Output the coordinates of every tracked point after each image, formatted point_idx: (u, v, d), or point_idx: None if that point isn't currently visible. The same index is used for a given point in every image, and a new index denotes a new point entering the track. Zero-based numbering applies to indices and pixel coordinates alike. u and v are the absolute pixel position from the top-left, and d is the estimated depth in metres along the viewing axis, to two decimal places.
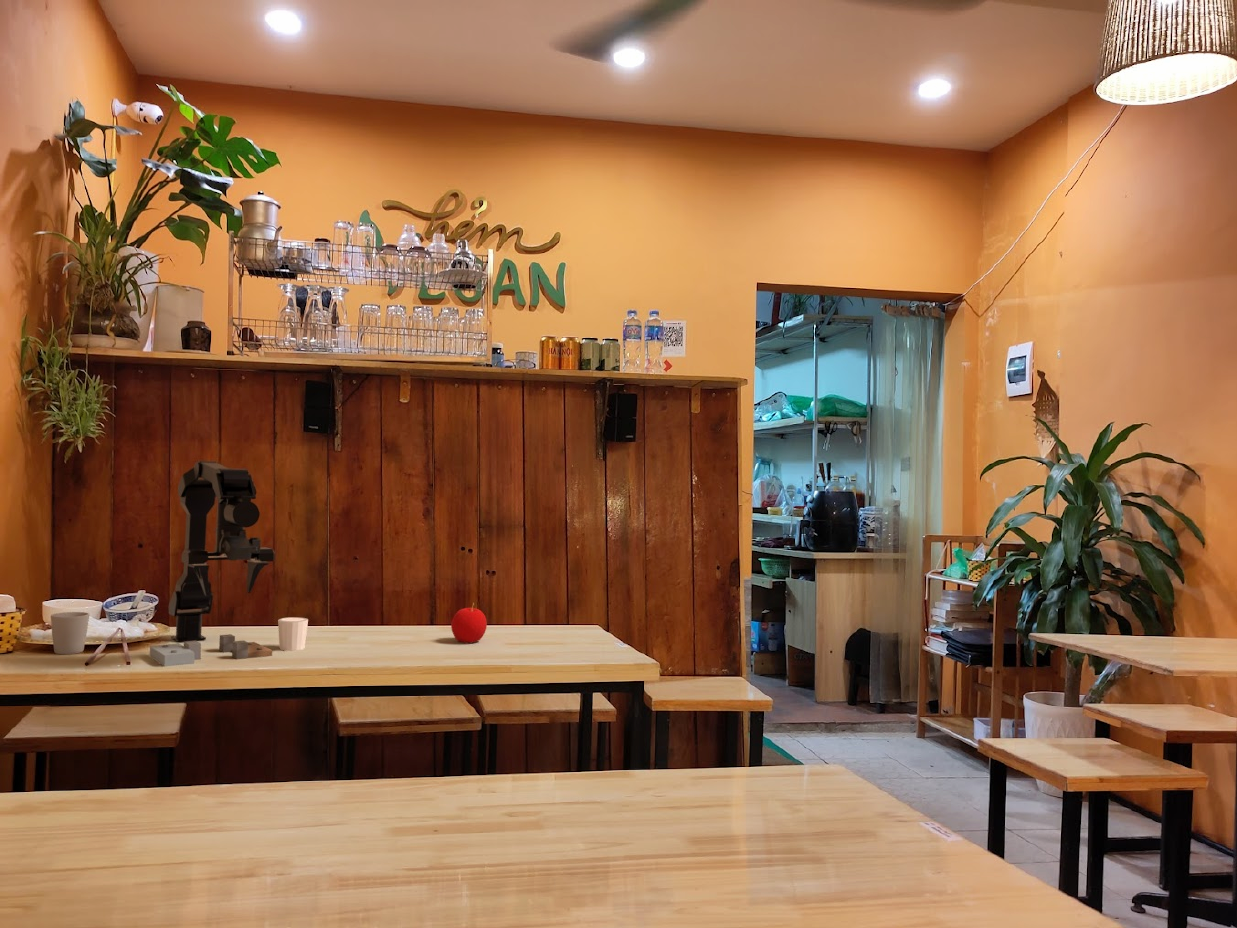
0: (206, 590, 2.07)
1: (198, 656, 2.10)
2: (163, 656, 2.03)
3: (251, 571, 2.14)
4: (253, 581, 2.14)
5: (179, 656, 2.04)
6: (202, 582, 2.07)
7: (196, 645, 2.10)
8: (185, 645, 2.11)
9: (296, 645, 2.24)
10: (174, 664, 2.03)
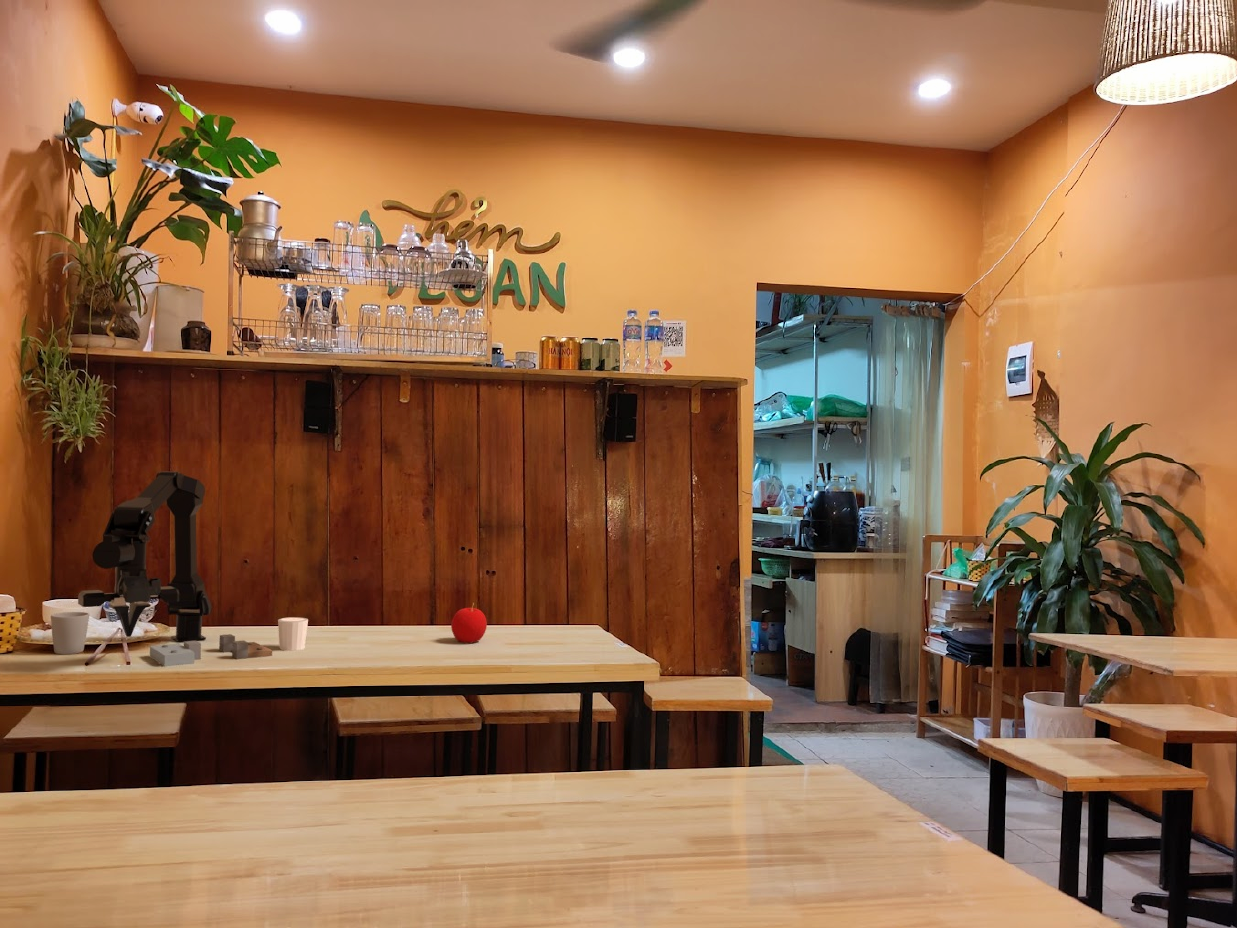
0: (127, 631, 2.02)
1: (198, 656, 2.10)
2: (163, 656, 2.03)
3: (132, 613, 2.03)
4: (134, 624, 2.03)
5: (179, 656, 2.04)
6: (122, 623, 2.02)
7: (196, 645, 2.10)
8: (185, 645, 2.11)
9: (296, 645, 2.24)
10: (174, 664, 2.03)
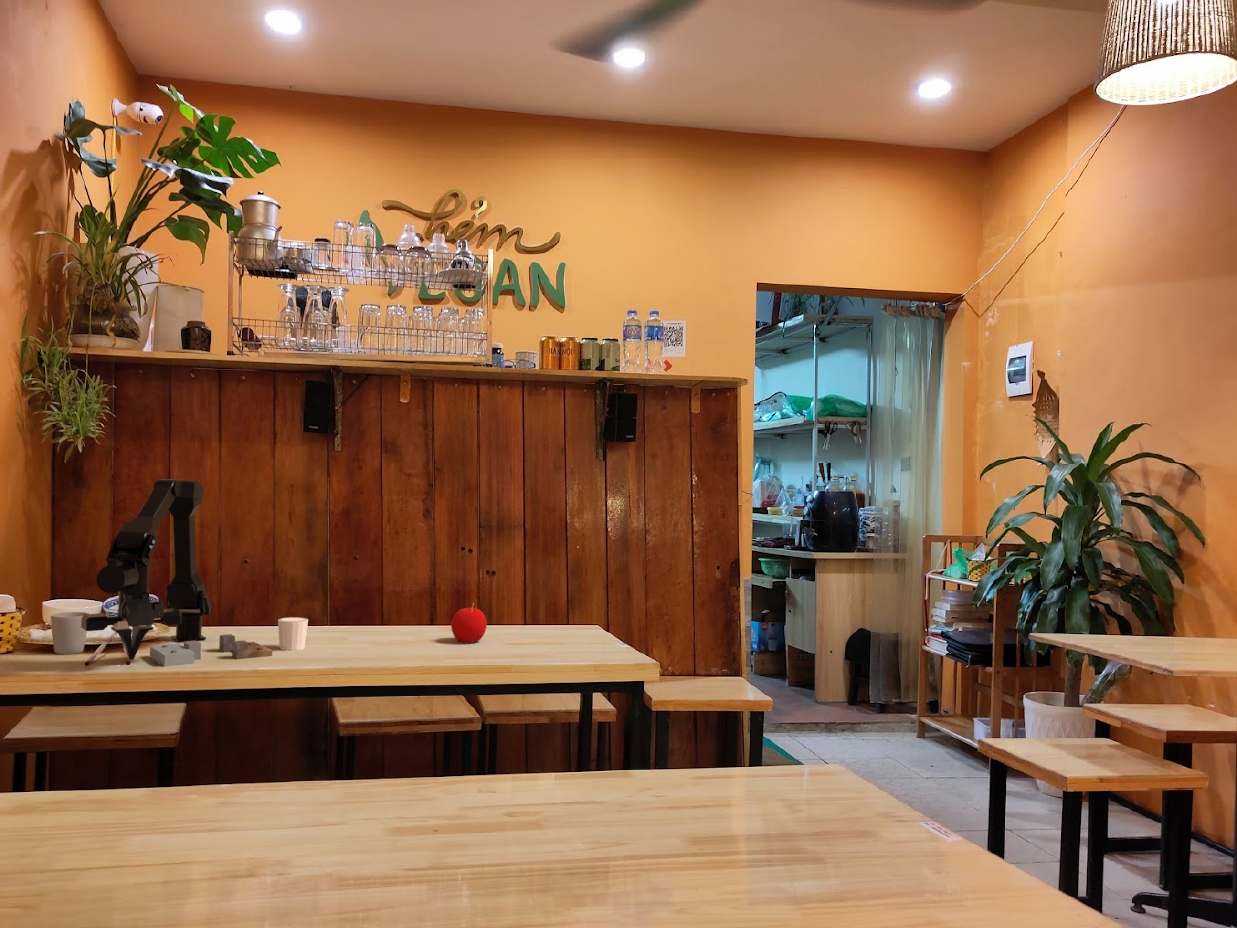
0: (130, 654, 2.03)
1: (198, 656, 2.10)
2: (163, 656, 2.03)
3: (135, 636, 2.03)
4: (137, 647, 2.03)
5: (179, 656, 2.04)
6: (125, 646, 2.02)
7: (196, 645, 2.10)
8: (185, 645, 2.11)
9: (296, 645, 2.24)
10: (174, 664, 2.03)
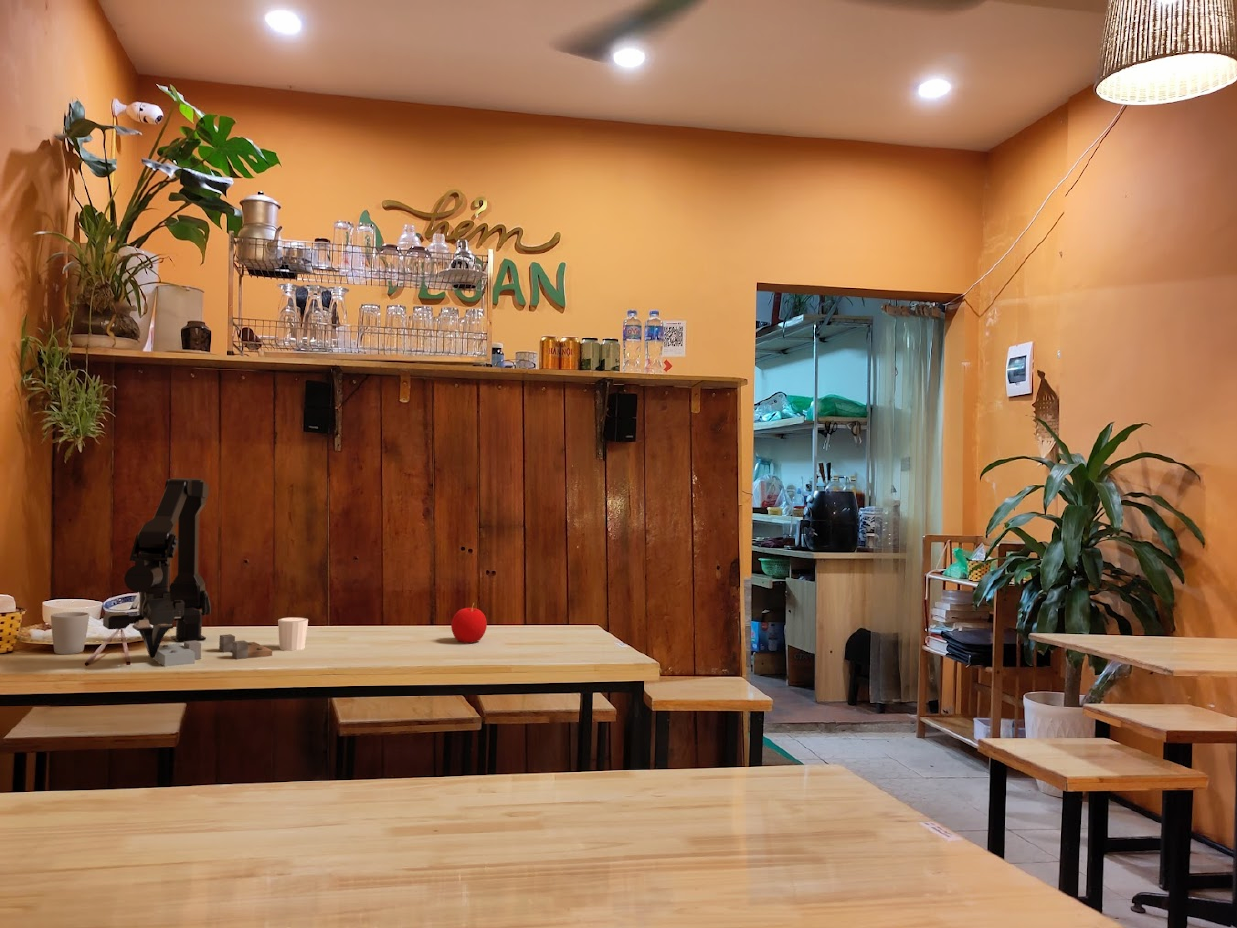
0: (151, 652, 2.05)
1: (198, 656, 2.10)
2: (163, 656, 2.03)
3: (155, 635, 2.06)
4: (157, 645, 2.06)
5: (179, 656, 2.04)
6: (147, 644, 2.05)
7: (196, 645, 2.10)
8: (185, 645, 2.11)
9: (296, 645, 2.24)
10: (174, 664, 2.03)
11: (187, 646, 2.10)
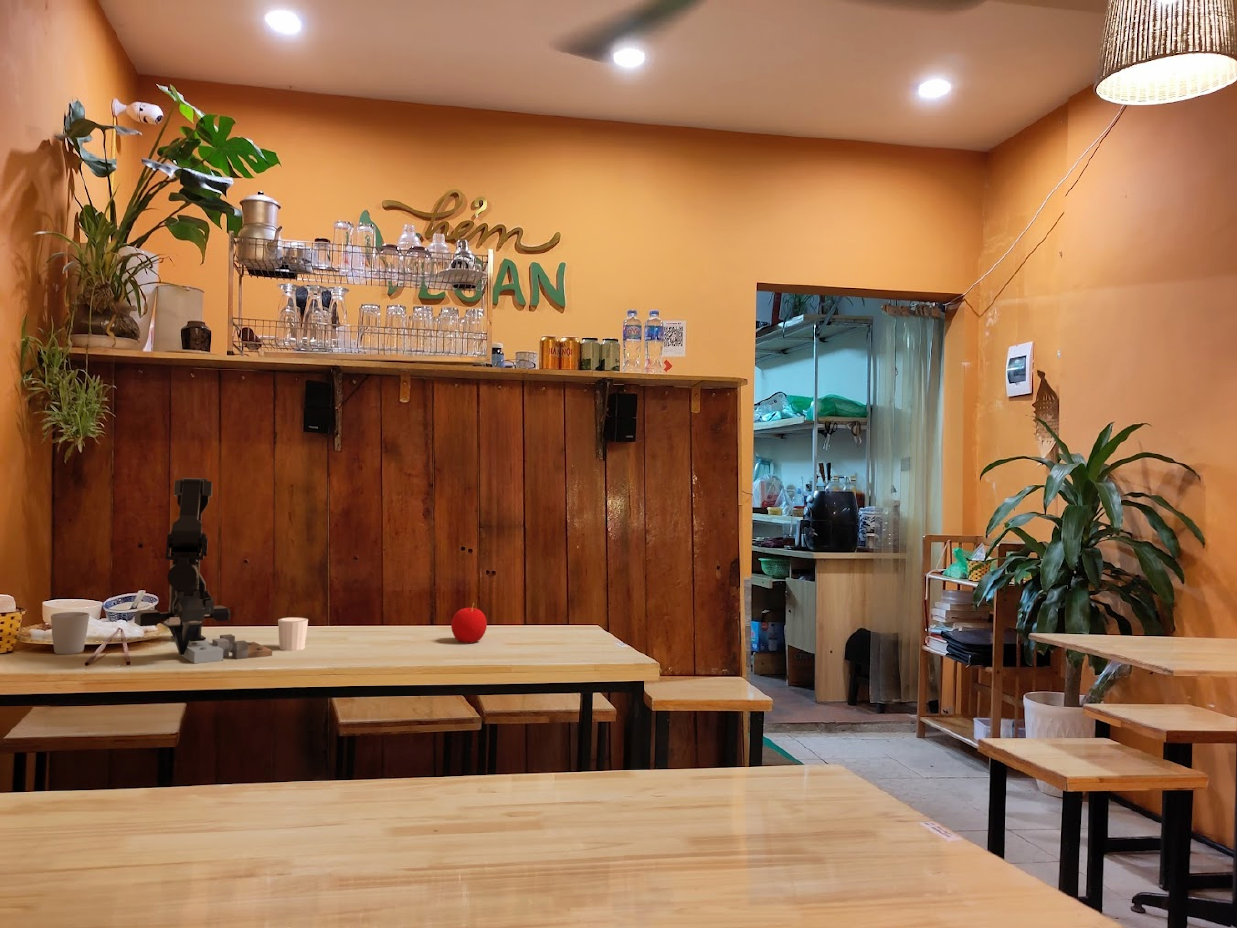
0: (180, 649, 2.09)
1: (226, 653, 2.14)
2: (193, 653, 2.07)
3: (185, 632, 2.10)
4: (187, 642, 2.10)
5: (208, 653, 2.08)
6: (177, 641, 2.09)
7: (225, 642, 2.14)
8: (214, 642, 2.15)
9: (296, 645, 2.24)
10: (203, 661, 2.07)
11: (216, 643, 2.14)
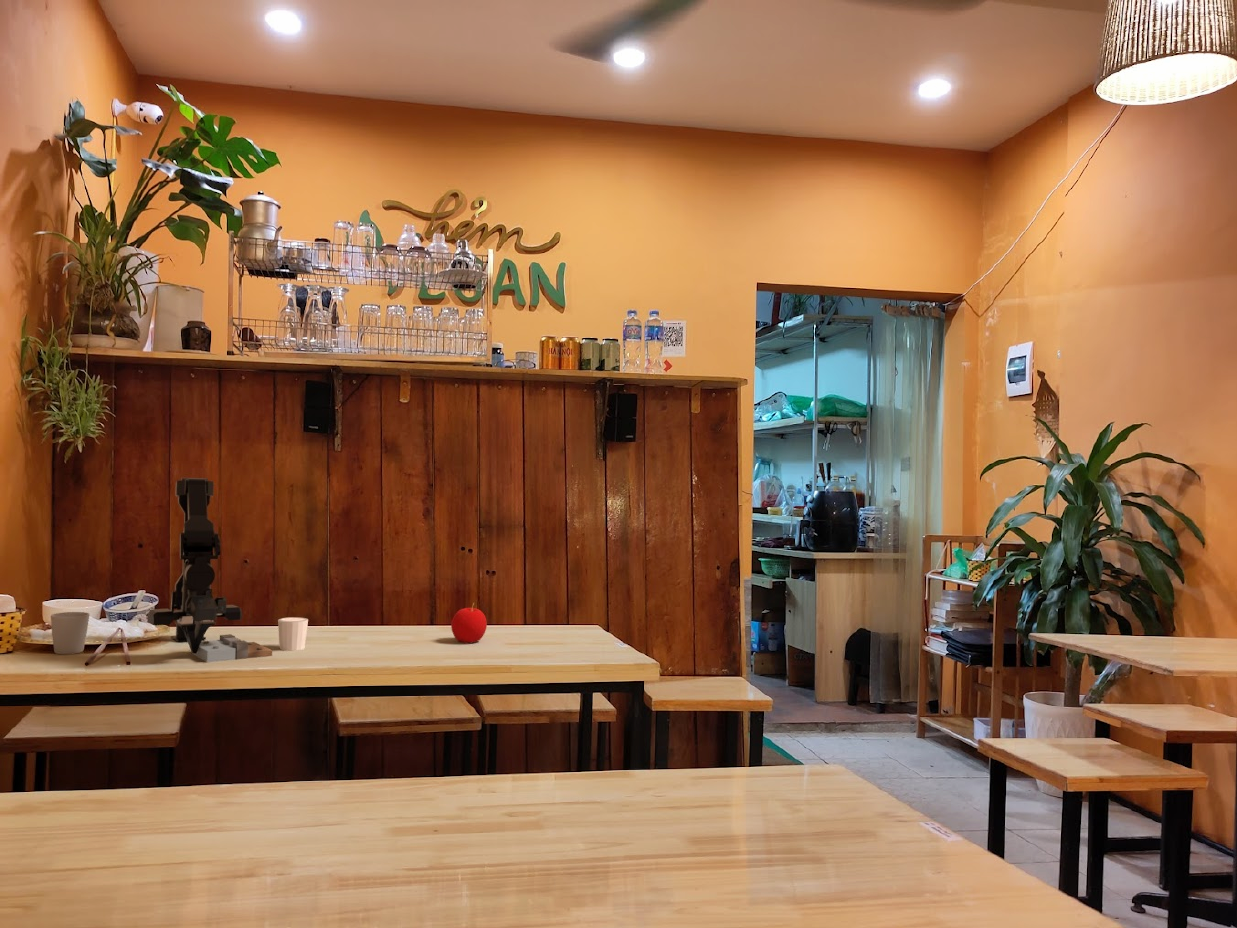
0: (193, 648, 2.11)
1: None
2: (206, 652, 2.08)
3: (197, 631, 2.12)
4: (199, 641, 2.11)
5: (221, 652, 2.10)
6: (189, 640, 2.11)
7: None
8: (225, 641, 2.17)
9: (296, 645, 2.24)
10: (216, 660, 2.09)
11: (227, 642, 2.16)
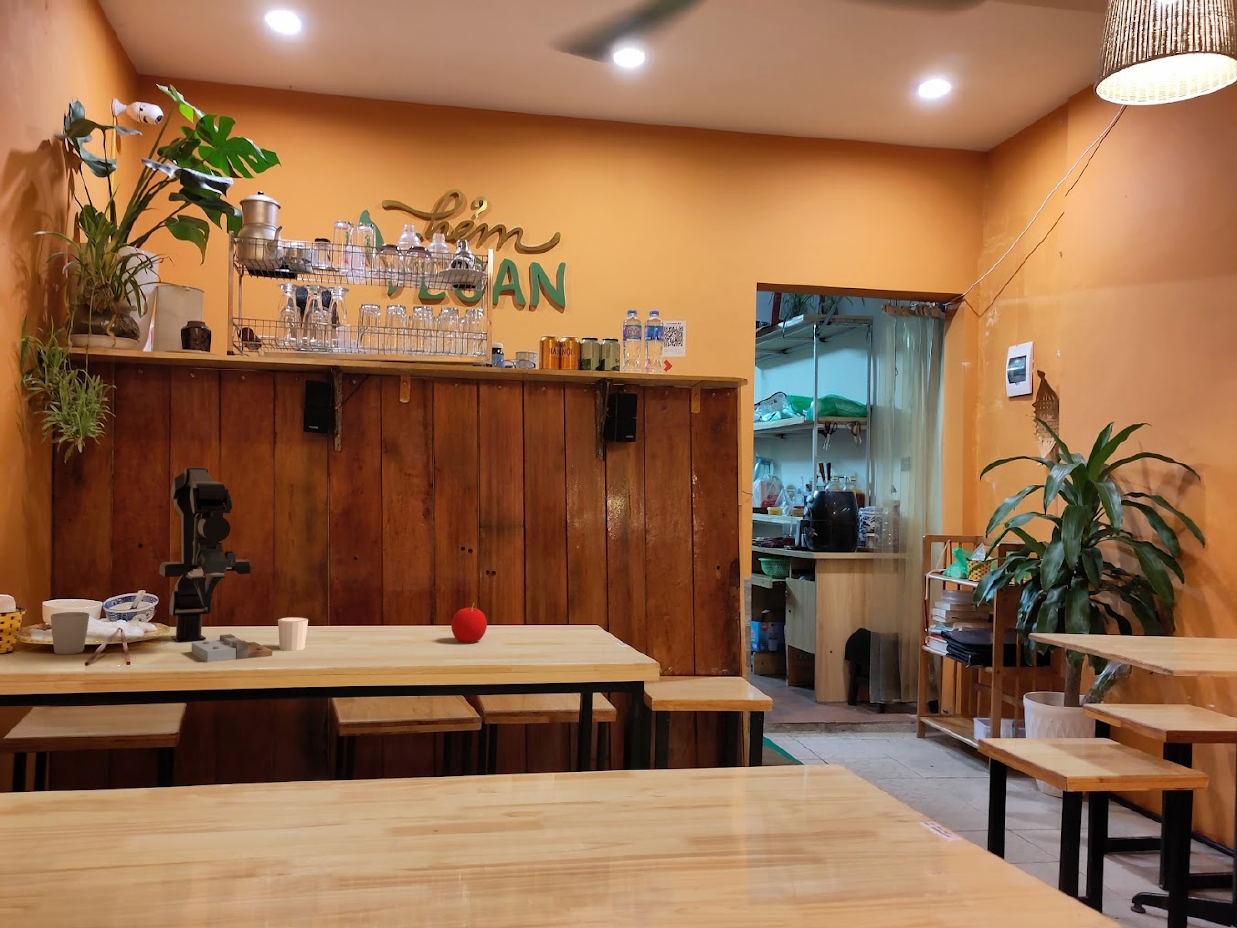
0: (203, 601, 2.15)
1: None
2: (206, 652, 2.09)
3: (208, 584, 2.16)
4: (210, 594, 2.16)
5: (221, 652, 2.10)
6: (200, 593, 2.15)
7: None
8: (226, 642, 2.17)
9: (296, 645, 2.24)
10: (216, 660, 2.09)
11: (228, 643, 2.16)
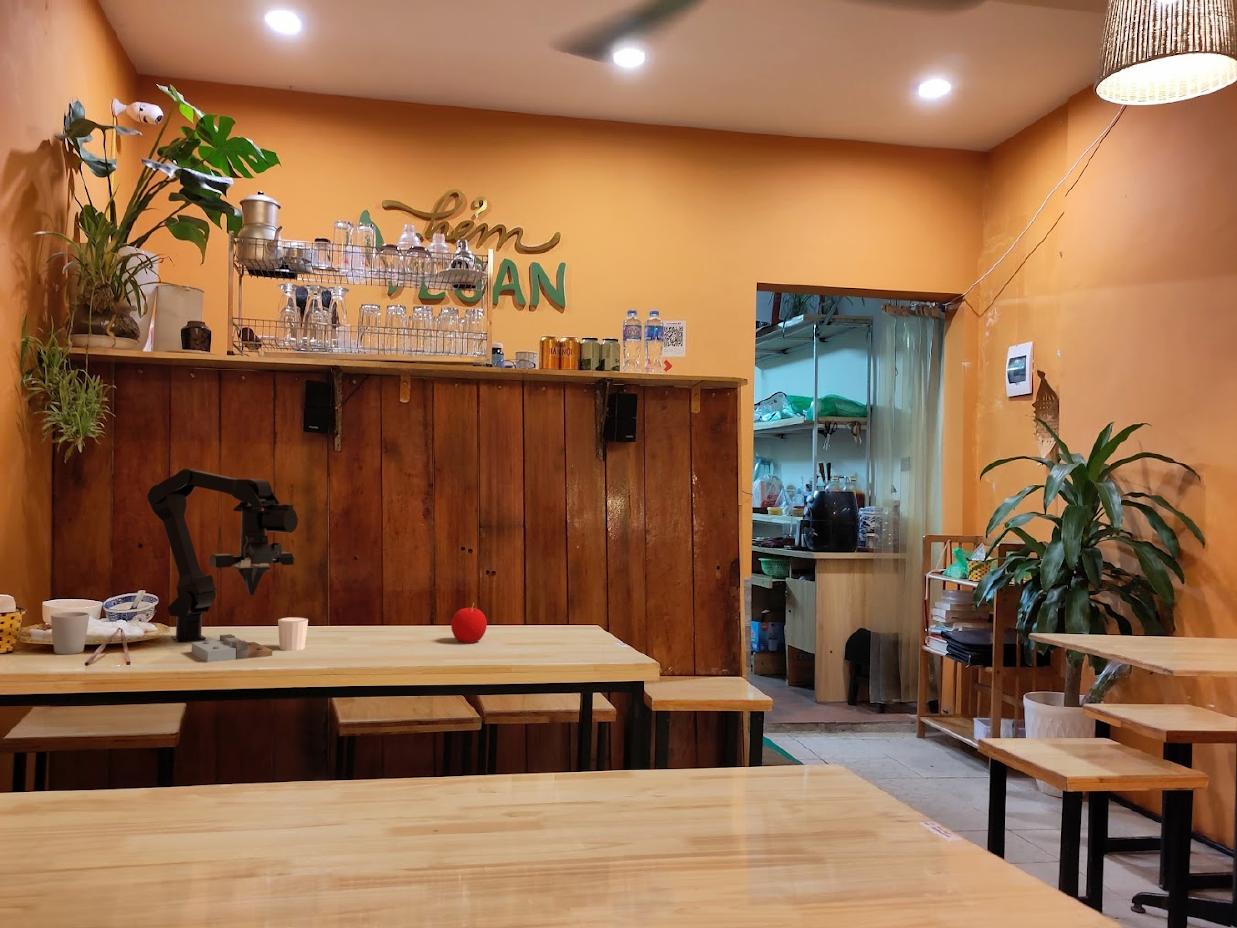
0: (250, 590, 2.28)
1: None
2: (206, 652, 2.09)
3: (254, 575, 2.28)
4: (256, 584, 2.28)
5: (221, 652, 2.10)
6: (247, 583, 2.27)
7: None
8: (226, 642, 2.17)
9: (296, 645, 2.24)
10: (216, 660, 2.09)
11: (228, 643, 2.16)
